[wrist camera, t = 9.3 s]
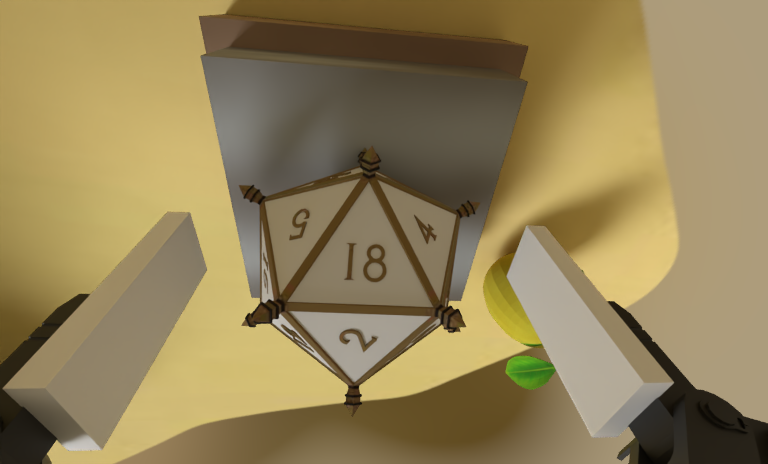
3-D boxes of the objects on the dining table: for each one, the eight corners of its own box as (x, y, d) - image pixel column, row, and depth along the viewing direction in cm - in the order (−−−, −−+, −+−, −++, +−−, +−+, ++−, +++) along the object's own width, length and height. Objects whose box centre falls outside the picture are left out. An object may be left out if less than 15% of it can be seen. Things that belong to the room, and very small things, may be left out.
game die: (384, 149, 18) (581, 164, 10) (372, 295, 20) (528, 400, 12) (194, 132, 12) (304, 133, 5) (204, 334, 14) (293, 572, 7)
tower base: (451, 251, 25) (473, 312, 20) (262, 246, 24) (236, 309, 19) (504, 40, 17) (562, 54, 12) (224, 14, 16) (161, 18, 11)
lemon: (477, 300, 28) (524, 421, 20) (454, 253, 25) (500, 374, 17) (555, 271, 27) (640, 389, 19) (541, 218, 24) (637, 331, 15)
